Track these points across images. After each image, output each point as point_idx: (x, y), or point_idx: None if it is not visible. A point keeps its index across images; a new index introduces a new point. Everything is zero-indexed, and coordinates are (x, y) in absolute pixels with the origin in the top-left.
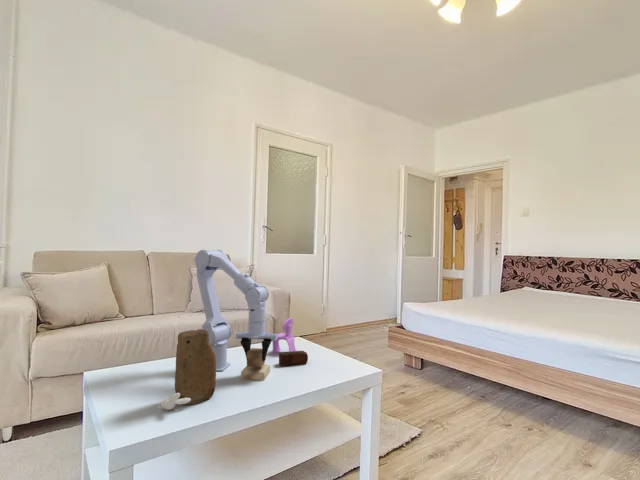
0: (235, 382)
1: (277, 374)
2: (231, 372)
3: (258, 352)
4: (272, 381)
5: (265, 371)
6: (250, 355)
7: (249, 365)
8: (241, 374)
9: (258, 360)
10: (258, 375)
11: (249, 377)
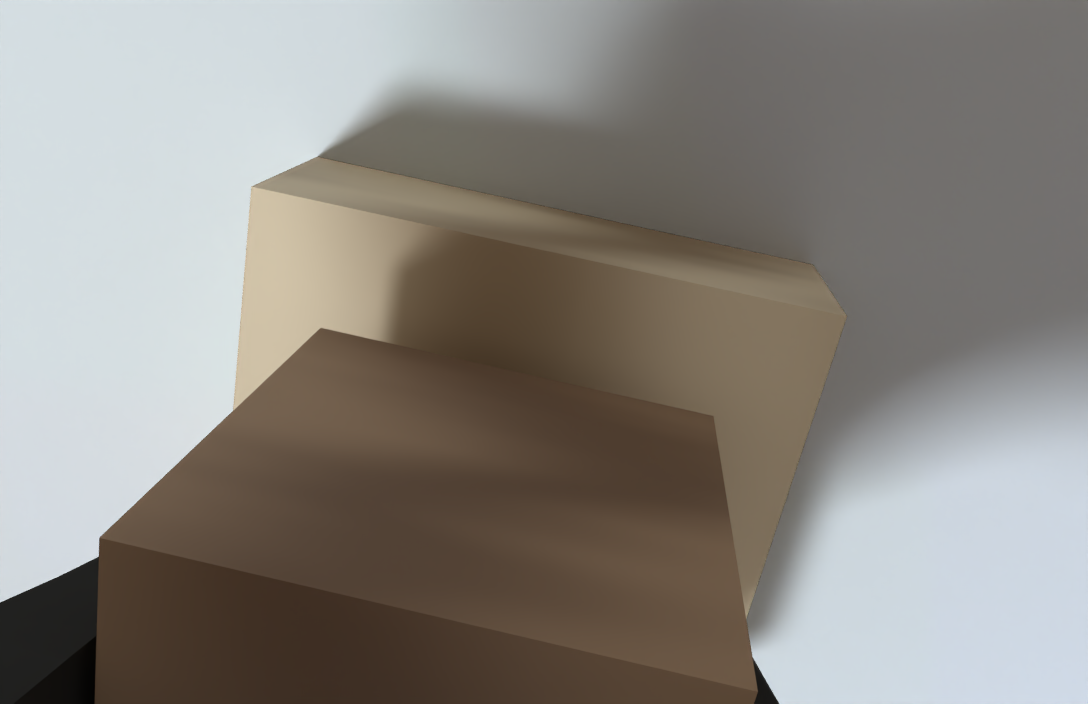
0: (935, 79)
1: (112, 449)
2: (1027, 643)
3: (226, 603)
4: (133, 84)
5: (248, 308)
6: (596, 575)
7: (636, 414)
8: (824, 289)
9: (327, 419)
10: (412, 202)
11: (628, 234)
